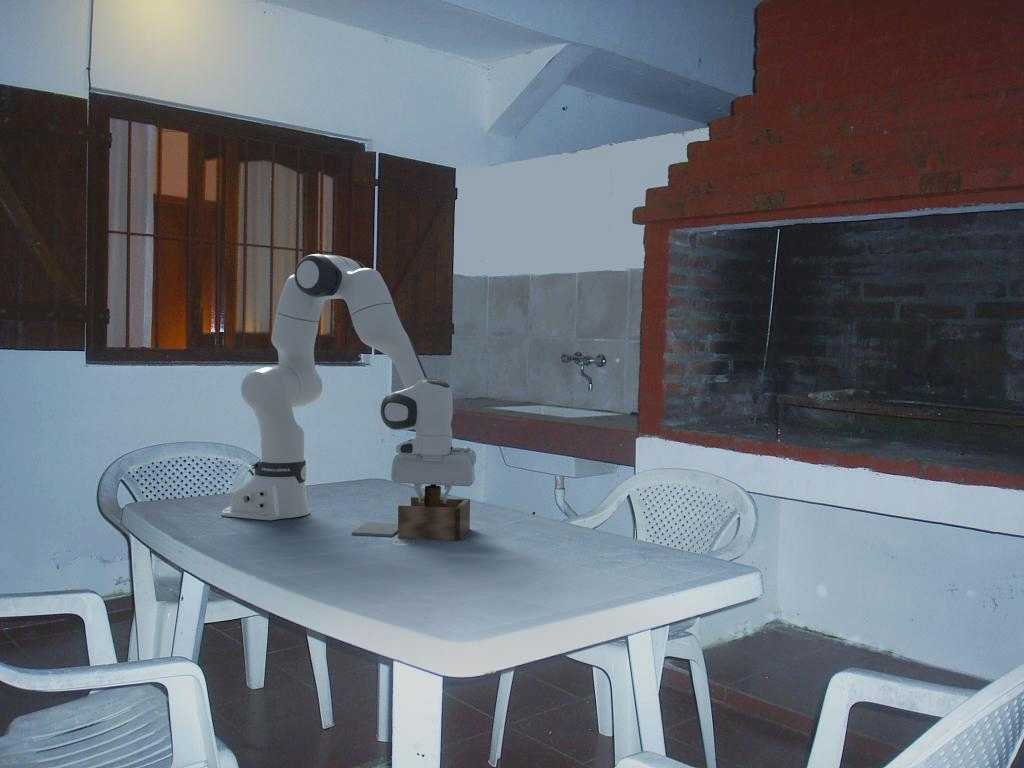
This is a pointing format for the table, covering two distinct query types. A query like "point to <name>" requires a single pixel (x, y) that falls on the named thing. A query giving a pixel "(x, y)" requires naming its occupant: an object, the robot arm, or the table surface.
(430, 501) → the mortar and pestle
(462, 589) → the table surface
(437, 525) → the walnut bay
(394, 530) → the grey rubber mat
